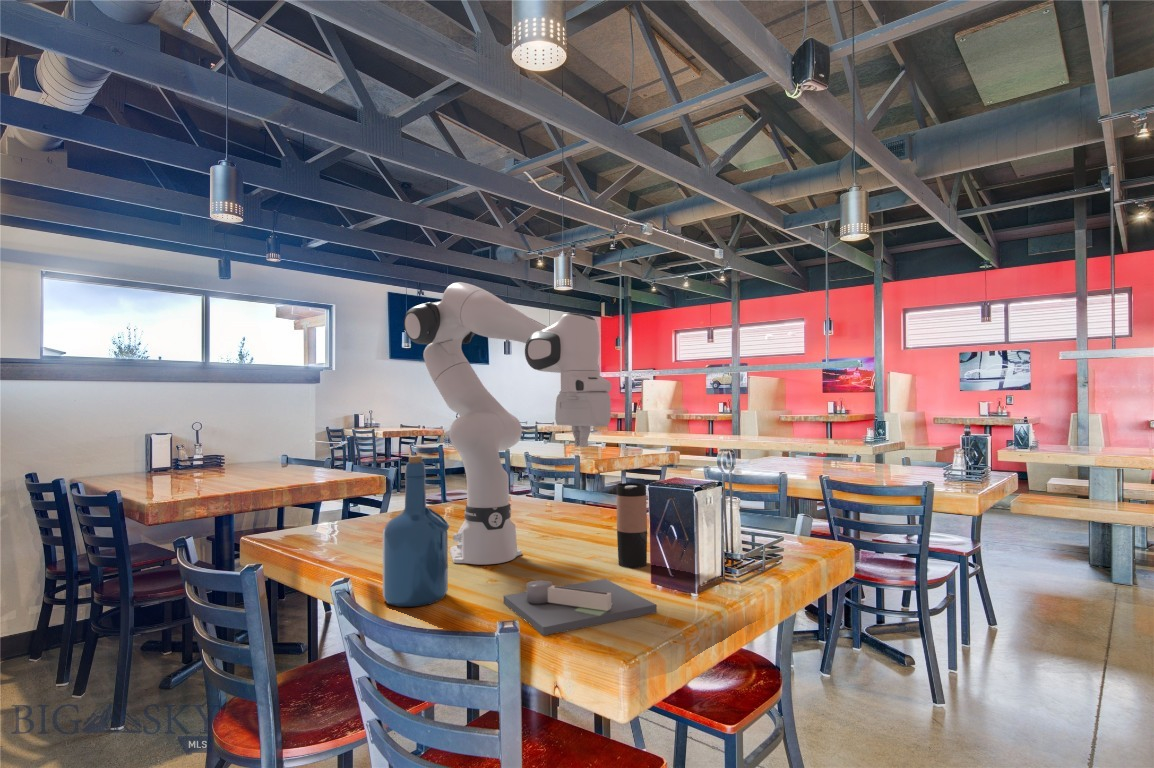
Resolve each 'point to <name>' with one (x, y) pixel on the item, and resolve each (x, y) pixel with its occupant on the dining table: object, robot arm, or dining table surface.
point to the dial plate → (579, 608)
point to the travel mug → (632, 525)
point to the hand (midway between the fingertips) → (581, 446)
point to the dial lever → (567, 596)
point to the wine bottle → (415, 547)
